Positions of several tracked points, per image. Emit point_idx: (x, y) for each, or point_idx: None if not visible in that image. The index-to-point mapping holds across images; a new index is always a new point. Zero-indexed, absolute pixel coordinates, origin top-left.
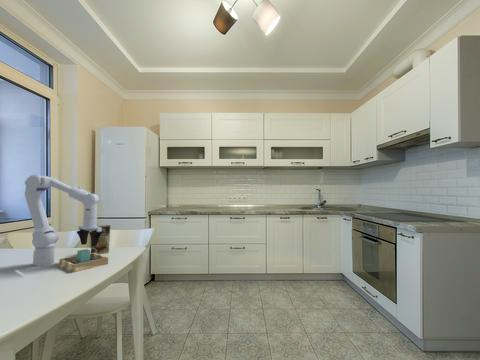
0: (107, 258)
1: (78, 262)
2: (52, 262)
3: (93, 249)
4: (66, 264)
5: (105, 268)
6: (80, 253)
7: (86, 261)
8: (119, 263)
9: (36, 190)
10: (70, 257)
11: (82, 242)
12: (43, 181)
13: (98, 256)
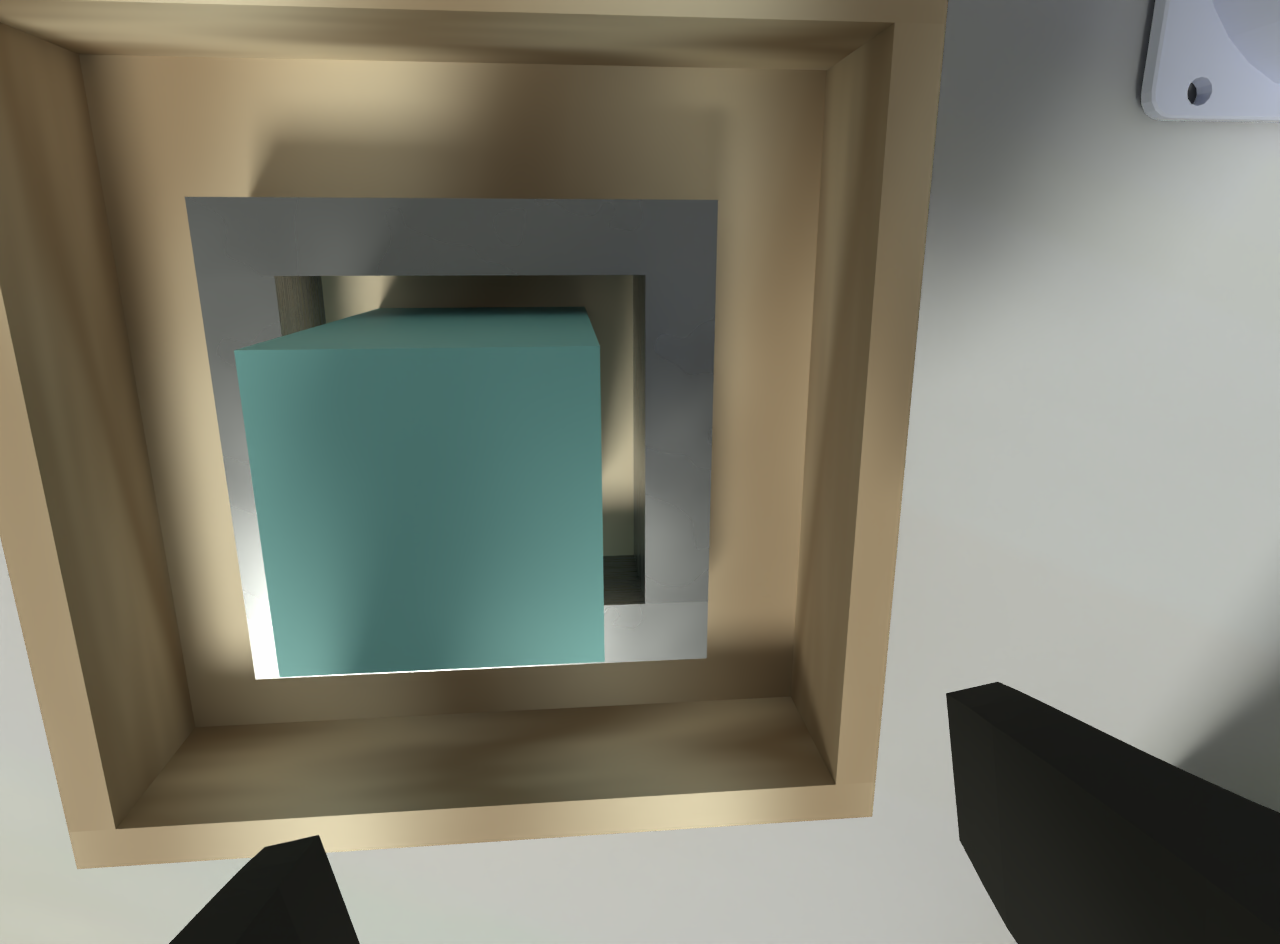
0: (89, 835)
1: (307, 245)
2: (1255, 12)
3: None
4: None
5: (11, 635)
6: (322, 343)
7: None
8: (170, 923)
9: None
10: (887, 263)
11: (1007, 760)
12: None
13: (509, 782)
